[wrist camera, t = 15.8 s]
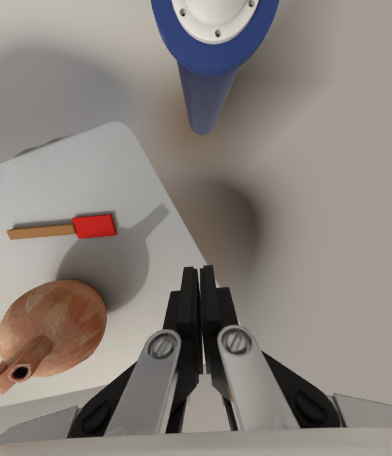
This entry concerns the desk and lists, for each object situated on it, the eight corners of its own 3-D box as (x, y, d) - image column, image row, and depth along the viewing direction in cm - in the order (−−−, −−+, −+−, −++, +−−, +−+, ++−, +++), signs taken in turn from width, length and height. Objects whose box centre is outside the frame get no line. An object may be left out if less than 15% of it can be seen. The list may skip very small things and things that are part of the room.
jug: (81, 340, 48) (6, 451, 29) (25, 294, 44) (-106, 391, 25) (132, 307, 45) (84, 410, 26) (77, 253, 40) (-31, 331, 21)
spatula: (9, 223, 38) (3, 225, 37) (111, 214, 37) (109, 215, 36) (18, 242, 40) (12, 245, 38) (116, 234, 39) (114, 236, 37)
